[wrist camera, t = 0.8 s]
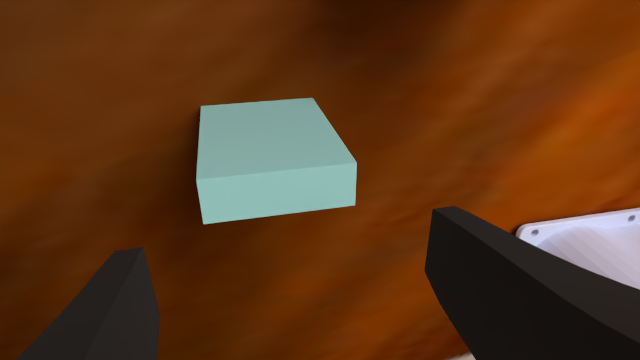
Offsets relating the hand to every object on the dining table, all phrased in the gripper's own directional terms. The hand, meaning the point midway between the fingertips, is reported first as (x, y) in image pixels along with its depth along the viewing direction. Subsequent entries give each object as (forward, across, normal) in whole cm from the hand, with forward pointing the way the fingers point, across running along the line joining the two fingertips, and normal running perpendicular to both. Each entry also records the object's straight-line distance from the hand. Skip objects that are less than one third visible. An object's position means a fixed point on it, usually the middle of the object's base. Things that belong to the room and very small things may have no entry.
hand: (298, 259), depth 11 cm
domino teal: (+10, 0, 0) cm, 10 cm away
